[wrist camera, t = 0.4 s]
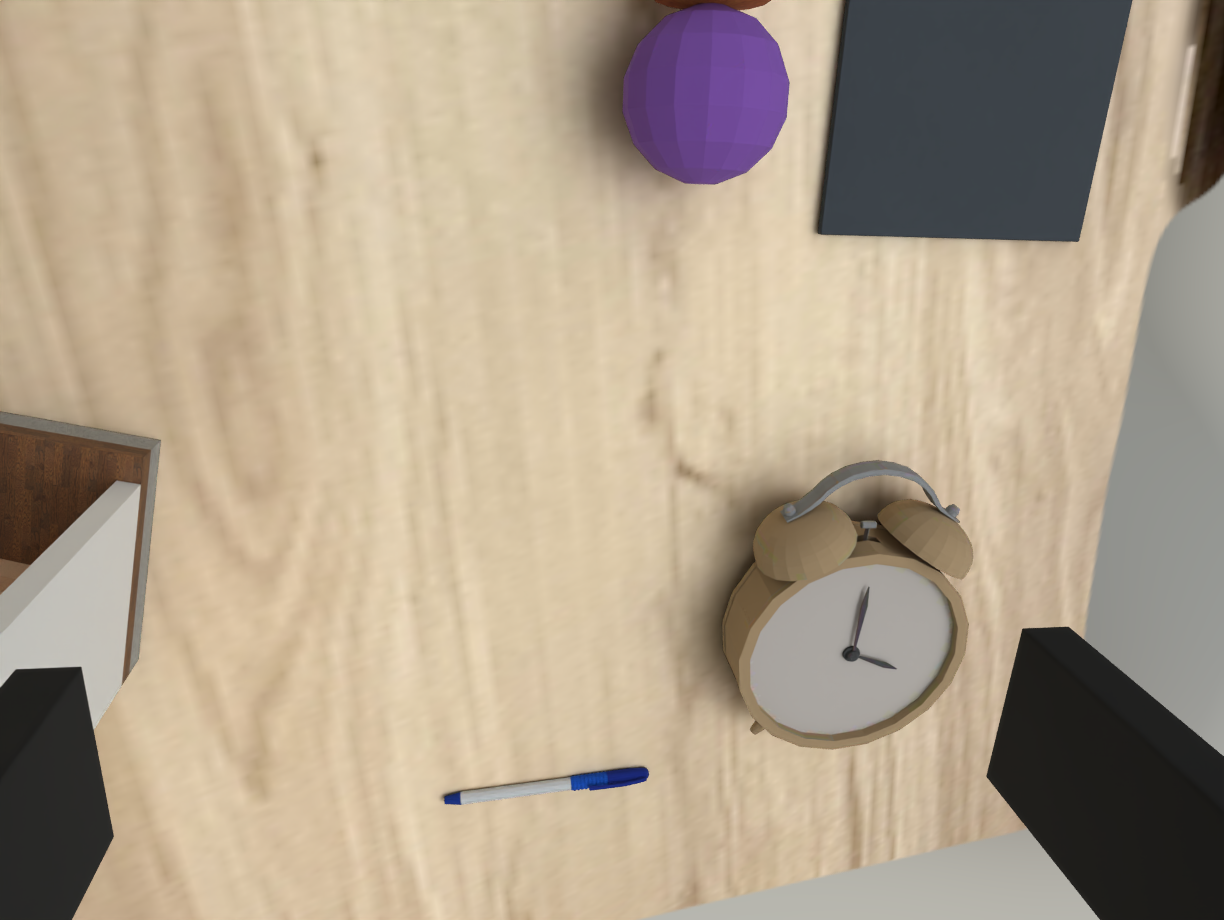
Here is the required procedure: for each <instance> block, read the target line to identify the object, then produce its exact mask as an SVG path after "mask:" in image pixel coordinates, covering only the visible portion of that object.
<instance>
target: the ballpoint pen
mask: <svg viewBox="0 0 1224 920" xmlns="http://www.w3.org/2000/svg"><path fill="white" fill-rule="evenodd" d="M648 776H649V772H648V770H647V768H626V769H618V770H611V771H606V772H605V771H603V772H599V773H597V772H595V773H594V774H593V773H591V774H589V773H588V774H584V775H582V774H580V775H579V776H578V775H576V776H574V775H573V776H571V777H568V778H560V779H553V780H545V781H538V782H530V783H522V784H515V785H507V786H500V787H492V788H485V789H477V790H470V791H462V792H458V793H455V794H452V795H448V796H445V797H444V801H445V804H456V805H462V804H470V803H477V802H485V801H492V800H499V799H507V798H514V797H522V796H529V795H537V794H544V793H551V792H559V791H566V790H574V791H576V790H580V789H581V790H583V789H587V788H589V790H590V791H591V790H599V789H607V788H615V787H622V786H628V785H632V784H637V783H640V782H644V781H647V778H648Z"/></svg>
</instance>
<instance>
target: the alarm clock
mask: <svg viewBox="0 0 1224 920" xmlns="http://www.w3.org/2000/svg"><path fill="white" fill-rule="evenodd" d="M879 475H891V476H899V477H903V478H906V479H909V480H912V481H915V482H916V483H918V484H919V485H921V486H922V488H923V490H924V492H925V494H926V495H927V497H928V498H929V500H930V501H931V502H932V503H933V504H934V505H935V506H936V507H935V506H933V505H930V504H928V503H925V502H922V501H918V500H912V499H908V500H900V501H896V502H893V503H891V504H889V505H888V506H886V507H885V508H884V509H882V510H881V512H880V513H879V514H878V519H879V521H880V522H881V524H882V525H877V523H876V521H869V520H868V521H861V522H857V521H851V519H850V518H849V517H848V515H847V514H846V513H845V512H843V511H842V510H841V509H840V508H838V507H837V506H836V505H834V504H832V503H829V502H826V501H824V500H825V499H826V498H827V497H828V496H829V495H830V494H831V493H833V492H834V491H835V490H837V489H838V488H840V487H842V486H843V485H845V484H847V483H849V482H851V481H854V480H858V479H862V478H865V477H869V476H879ZM959 510H960V509H959V508H958V507H957V506H956V505H954V504H952V505H949V506H948V507H947V508H946V509H945V508H943V507H942V506H941V504H940V502H939V500H938V498H937V496H936V494H935V492H934V491H933V490H932V488H931V487H930V486H929V485H928V484H927V483H926V482H925V481H924V480H923V479H922V478H921V477H920V476H919V475H918V474H917V473H915V472H914V471H912V470H911V469H910V468H908V467H906V466H903V465H900V464H897V463H894V462H887V461H879V460H876V461H866V462H860V463H856V464H852V465H848V466H845V467H843V468H841V469H839V470H837V471H835V472H833V473H831V474H830V475H828V476H827V477H826V478H824V479H823V480H822V481H820V482H819V483H818V484H817V485H816V486H815V487H814V488H813V489H812V490H811V491H810V492H809V493H808V494H806V495H805V496H804V497H803V498H801V499H800V500H796V501H792V502H789V503H786V504H784V505H782V506H780V507H778V508H776V509H775V510H773V511H772V512H771V513H770V514H769V515H767V516H766V517H765V518H764V520H763V521H762V523H761V524H760V525H759V527H758V529H757V530H756V534H755V537H754V542H753V552H754V556H755V560H756V562H755V563H753V565H752V566H751V567H750V569H749V570H748V571H747V573H746V574H745V575H744V577H743V578H742V579H741V581H740V582H739V583H738V585H737V586H736V588H735V589H734V590H733V592H732V595H731V598H730V600H729V603H728V606H727V609H726V612H725V615H724V618H723V621H722V630H723V652H724V654H725V656H726V658H727V661H728V663H729V665H730V667H731V670H732V672H733V674H734V676H735V678H736V680H737V682H738V688H739V690H740V692H741V695H742V697H743V699H744V701H745V703H746V706H747V708H748V710H749V712H750V714H751V716H752V717H753V718H754V719H755V720H756V721H755V722H754V724H753V725H752V727H751V728H750V730H751V732H752V733H753V734H757V733H759V732H761V731H762V730H764V729H766V730H767V731H768V732H769V733H770V734H771V735H773V736H775V737H778V738H780V739H783V740H785V741H787V742H790V743H792V744H795V745H797V746H800V747H810V748H822V749H838V748H844V747H850V746H856V745H862V744H867V743H869V742H872V741H874V740H877V739H879V738H881V737H884V736H886V735H889V734H891V733H893V732H896V731H898V730H900V729H902V728H903V727H904V726H906V725H907V724H909V723H910V722H911V721H913V720H914V719H916V718H917V717H918V716H920V715H921V714H923V713H924V712H925V711H927V710H928V709H929V708H930V707H931V706H932V705H933V704H934V702H935V701H936V700H937V699H938V698H939V697H940V695H941V694H942V693H943V692H944V691H945V690H946V689H947V687H948V686H949V685H950V684H951V682H952V680H953V678H954V676H955V674H956V672H957V670H958V668H959V666H960V664H961V662H962V659H963V657H964V655H965V650H966V642H967V634H968V626H969V624H968V620H967V616H966V613H965V609H964V605H963V601H962V598H961V596H960V595H959V593H958V592H957V591H956V590H955V588H954V587H953V586H952V585H951V584H950V582H949V581H948V580H947V579H946V577H945V576H944V575H943V574H942V573H941V572H940V570H941V571H942V572H944V573H946V574H948V575H950V576H952V577H954V578H958V579H963V578H964V577H965V576H966V574H967V573H968V571H969V569H970V567H971V565H972V561H973V549H972V545H971V542H970V540H969V538H968V536H967V535H966V533H965V532H964V530H963V529H962V528H961V527H960V525H959V524H958V523H959V522H960V521H959V520H958V519H957V518H956V516H957V515H958V514H959ZM936 568H937V569H936ZM938 569H939V570H938Z"/></svg>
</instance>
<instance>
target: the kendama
mask: <svg viewBox="0 0 1224 920" xmlns="http://www.w3.org/2000/svg"><path fill="white" fill-rule="evenodd" d="M654 1H655V2H657V3H660V4H662V5H665V6H668V7H672V8H678V9H683V10H680V11H677V12H675V13H672V14H669V15H667V16H665V17H664V18H663V19H662V20H661V21H660V22H659V23H658V24H657V25H656V26H655V27H654V28H653V29H652V30H651V31H650V32H649V33H648V34H647V36H646V37H645V38H644V39H643V40H642V41H641V42H640V43H639V44H638V45H637V47H636V50H635V52H634V54H633V57H632V59H631V62H630V64H629V66H628V69H627V71H626V73H625V76H624V86H623V115H624V118H625V121H626V124H627V127H628V130H629V132H630V135H631V138H632V141H633V144H634V145H635V147H636V148H637V149H638V150H639V151H640V152H641V153H642V155H643V156H644V157H645V158H646V159H647V160H648V161H649V163H650V164H651V165H652V166H653V167H654V168H655V169H656V170H658V171H660V172H662V173H664V174H666V175H668V176H671V177H673V178H675V179H677V180H679V181H681V182H683V183H688V184H718V183H720V182H723V181H725V180H728V179H731V178H733V177H736V176H738V175H741V174H744V173H746V172H748V171H749V170H750V169H751V168H752V167H753V166H754V165H755V164H756V163H757V162H758V161H759V160H760V159H761V158H762V157H763V156H765V155H766V154H767V153H768V152H769V151H770V150H771V149H772V147H773V145H774V143H775V140H776V138H777V136H778V134H779V132H780V130H781V128H782V126H783V124H784V122H785V120H786V118H787V106H788V94H789V79H788V76H787V72H786V69H785V66H784V62H783V59H782V56H781V52H780V49H779V46H778V43H777V42H776V41H775V40H774V39H773V38H772V36H771V35H770V34H769V33H768V32H767V31H766V29H765V28H764V27H763V26H762V25H761V23H760V22H759V21H758V20H757V19H756V18H754V17H752V16H750V15H747V14H745V13H743V12H740V11H738V10H745V9H752V8H755V7H759V6H763V5H765V4H767V3H768V2H769V1H771V0H654Z"/></svg>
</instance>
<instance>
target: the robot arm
mask: <svg viewBox="0 0 1224 920" xmlns="http://www.w3.org/2000/svg"><path fill="white" fill-rule="evenodd" d="M986 777H987V778H988V779H989V780H990V782H991V783H992V784H993V786H994V787H995V788H996V789H997V791H998V792H999V793H1000V794H1001V796H1002V797H1003V798H1004V799H1005V801H1006V802H1007V803H1008V804H1009V806H1010V807H1011V808H1012V809H1013V811H1014V812H1015V813H1016V814H1017V816H1018V817H1019V818H1020V820H1021V821H1022V822H1023V823H1024V825H1025V826H1026V827H1027V828H1028V830H1029V831H1030V832H1031V833H1032V835H1033V836H1034V837H1035V838H1036V840H1037V841H1038V842H1039V843H1040V845H1041V846H1042V847H1043V848H1044V850H1045V851H1046V852H1047V854H1048V855H1049V856H1050V857H1051V859H1052V860H1053V861H1054V862H1055V864H1056V865H1057V866H1058V867H1059V869H1060V870H1061V871H1062V872H1063V874H1064V875H1065V876H1066V877H1067V879H1068V880H1069V881H1070V882H1071V884H1072V885H1073V886H1074V887H1075V889H1076V890H1077V891H1078V892H1079V894H1080V895H1081V896H1082V898H1083V899H1084V900H1085V901H1086V903H1087V904H1088V905H1089V906H1090V908H1091V909H1092V910H1093V911H1094V913H1095V914H1096V915H1097V916H1098V918H1099V919H1100V920H1224V756H1223V755H1221V754H1220V753H1219V752H1218V751H1217V750H1215V749H1214V748H1213V747H1212V746H1211V745H1209V744H1208V743H1207V742H1206V741H1204V740H1203V739H1202V738H1201V737H1200V736H1198V735H1197V734H1196V733H1195V732H1194V731H1193V730H1191V729H1190V728H1189V727H1188V726H1187V725H1185V724H1184V723H1183V722H1182V721H1181V720H1179V719H1178V718H1177V717H1176V716H1175V715H1173V714H1172V713H1171V712H1170V711H1169V710H1168V709H1166V708H1165V707H1164V706H1163V705H1162V704H1160V703H1159V702H1158V701H1157V700H1155V699H1154V698H1153V697H1152V696H1151V695H1149V694H1148V693H1147V692H1146V691H1145V690H1144V689H1142V688H1141V687H1140V686H1139V685H1138V684H1136V683H1135V682H1134V681H1133V680H1131V679H1130V678H1129V677H1128V676H1127V675H1126V674H1124V673H1123V672H1122V671H1121V670H1119V669H1118V668H1117V667H1116V666H1115V665H1114V664H1112V663H1111V662H1110V661H1109V660H1108V659H1106V658H1105V657H1104V656H1103V655H1102V654H1100V653H1099V652H1098V651H1097V650H1096V649H1094V648H1093V647H1092V646H1091V645H1090V644H1088V643H1087V642H1086V641H1085V640H1084V639H1082V638H1081V637H1080V636H1079V635H1078V634H1077V633H1075V632H1074V631H1073V630H1072V629H1071V628H1069V627H1051V628H1026V629H1022V633H1021V637H1020V641H1019V645H1018V649H1017V653H1016V657H1015V661H1014V666H1013V670H1012V674H1011V678H1010V682H1009V686H1008V690H1007V694H1006V698H1005V702H1004V707H1003V711H1002V715H1001V719H1000V723H999V727H998V731H997V735H996V739H995V743H994V747H993V752H992V756H991V760H990V764H989V768H988V772H987V776H986ZM113 837H114V835H113V830H112V824H111V819H110V814H109V809H108V803H107V798H106V793H105V788H104V782H103V777H102V772H101V767H100V761H99V756H98V751H97V746H96V740H95V735H94V730H93V725H92V719H91V714H90V709H89V704H88V698H87V693H86V688H85V683H84V677H83V672H82V667H58V668H33V669H15V671H14V672H13V673H12V674H11V675H10V677H9V678H8V679H7V680H6V681H5V682H4V684H3V685H2V686H1V687H0V920H72V918H73V916H74V914H75V912H76V910H77V908H78V906H79V905H80V903H81V901H82V899H83V897H84V895H85V893H86V891H87V889H88V887H89V885H90V883H91V881H92V879H93V877H94V875H95V873H96V871H97V869H98V867H99V865H100V863H101V861H102V859H103V857H104V855H105V853H106V851H107V849H108V847H109V845H110V843H111V841H112V839H113Z"/></svg>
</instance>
